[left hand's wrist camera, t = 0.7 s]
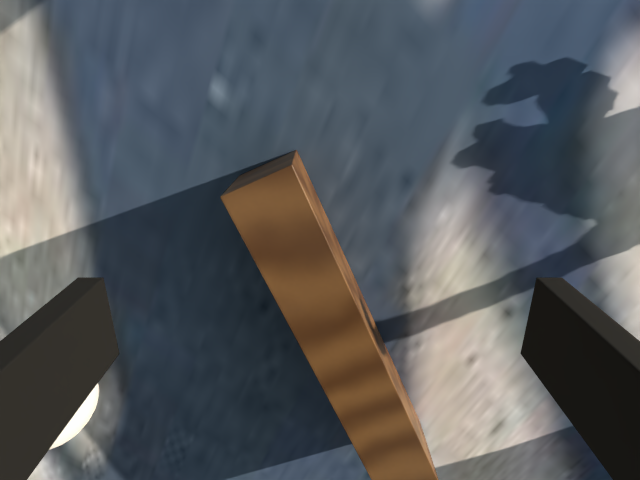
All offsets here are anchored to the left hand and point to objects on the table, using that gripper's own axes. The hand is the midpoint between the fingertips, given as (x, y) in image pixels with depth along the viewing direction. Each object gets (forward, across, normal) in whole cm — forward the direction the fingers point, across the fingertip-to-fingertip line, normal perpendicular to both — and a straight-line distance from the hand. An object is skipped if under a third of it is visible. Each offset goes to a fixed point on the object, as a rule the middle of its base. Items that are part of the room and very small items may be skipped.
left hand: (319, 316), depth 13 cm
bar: (+26, +2, -16) cm, 31 cm away
